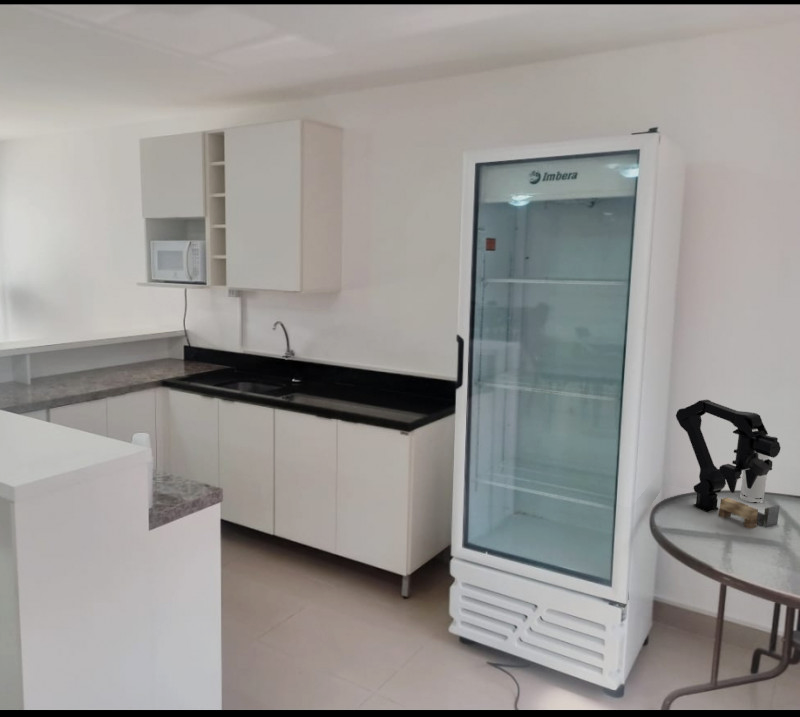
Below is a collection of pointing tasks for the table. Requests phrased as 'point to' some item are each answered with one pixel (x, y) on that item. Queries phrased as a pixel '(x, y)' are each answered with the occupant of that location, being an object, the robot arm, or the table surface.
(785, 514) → the table surface
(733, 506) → the rail
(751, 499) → the bottle
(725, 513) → the pair of brown blocks
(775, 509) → the bracket
